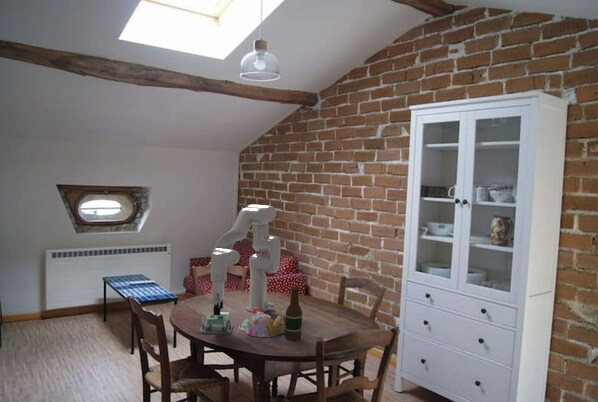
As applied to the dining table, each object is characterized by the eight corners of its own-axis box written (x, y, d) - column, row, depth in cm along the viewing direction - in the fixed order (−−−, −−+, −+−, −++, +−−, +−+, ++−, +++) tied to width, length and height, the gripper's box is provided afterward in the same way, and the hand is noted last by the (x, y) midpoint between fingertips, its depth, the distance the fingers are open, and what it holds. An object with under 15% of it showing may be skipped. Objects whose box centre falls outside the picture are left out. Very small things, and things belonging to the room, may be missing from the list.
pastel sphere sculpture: (295, 327, 227) (296, 309, 226) (274, 342, 205) (275, 322, 205) (252, 319, 237) (253, 302, 236) (228, 332, 215) (228, 313, 215)
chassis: (233, 325, 224) (233, 314, 224) (230, 334, 212) (231, 321, 212) (203, 324, 224) (203, 313, 223) (198, 333, 212) (199, 320, 211)
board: (227, 320, 221) (228, 314, 221) (226, 324, 215) (226, 318, 215) (207, 320, 221) (207, 314, 221) (205, 323, 215) (205, 317, 215)
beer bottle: (284, 335, 214) (286, 285, 213) (300, 335, 215) (302, 285, 214) (285, 341, 206) (287, 289, 205) (301, 341, 207) (304, 289, 206)
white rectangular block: (228, 318, 235) (229, 312, 235) (228, 321, 231) (228, 314, 231) (213, 318, 235) (213, 311, 234) (212, 320, 231) (212, 313, 231)
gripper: (213, 272, 225) (213, 305, 227) (208, 281, 208) (207, 317, 210) (228, 273, 226) (228, 306, 227) (224, 282, 209) (223, 317, 210)
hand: (218, 311), depth 218 cm, fingers open, 9 cm apart
